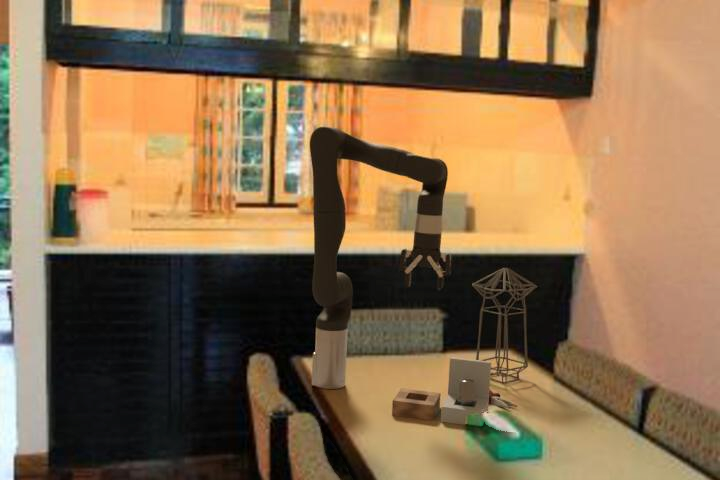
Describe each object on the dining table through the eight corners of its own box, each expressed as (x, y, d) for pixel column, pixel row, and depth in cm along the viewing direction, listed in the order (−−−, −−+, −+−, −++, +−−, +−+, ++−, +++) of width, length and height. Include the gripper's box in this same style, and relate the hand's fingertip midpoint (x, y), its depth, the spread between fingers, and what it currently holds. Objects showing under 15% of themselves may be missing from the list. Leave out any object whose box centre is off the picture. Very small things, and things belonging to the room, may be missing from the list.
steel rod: (455, 418, 202) (458, 382, 201) (457, 414, 206) (460, 377, 205) (470, 420, 201) (473, 383, 200) (472, 416, 205) (475, 379, 204)
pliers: (499, 415, 208) (499, 405, 208) (447, 394, 224) (448, 386, 223) (527, 408, 215) (527, 399, 215) (475, 388, 231) (475, 380, 230)
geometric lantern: (503, 388, 230) (508, 273, 227) (465, 376, 242) (469, 266, 239) (537, 380, 240) (541, 269, 236) (498, 368, 252) (502, 263, 249)
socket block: (391, 415, 203) (392, 400, 202) (400, 402, 213) (401, 388, 213) (433, 420, 200) (433, 405, 200) (439, 407, 211) (440, 393, 210)
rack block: (440, 421, 200) (443, 369, 198) (447, 406, 212) (450, 357, 210) (483, 427, 197) (486, 374, 195) (487, 411, 209) (491, 361, 207)
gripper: (400, 229, 211) (395, 287, 213) (451, 234, 207) (446, 293, 209) (405, 227, 218) (401, 283, 220) (455, 231, 214) (450, 288, 217)
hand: (423, 288), depth 215 cm, fingers open, 8 cm apart
